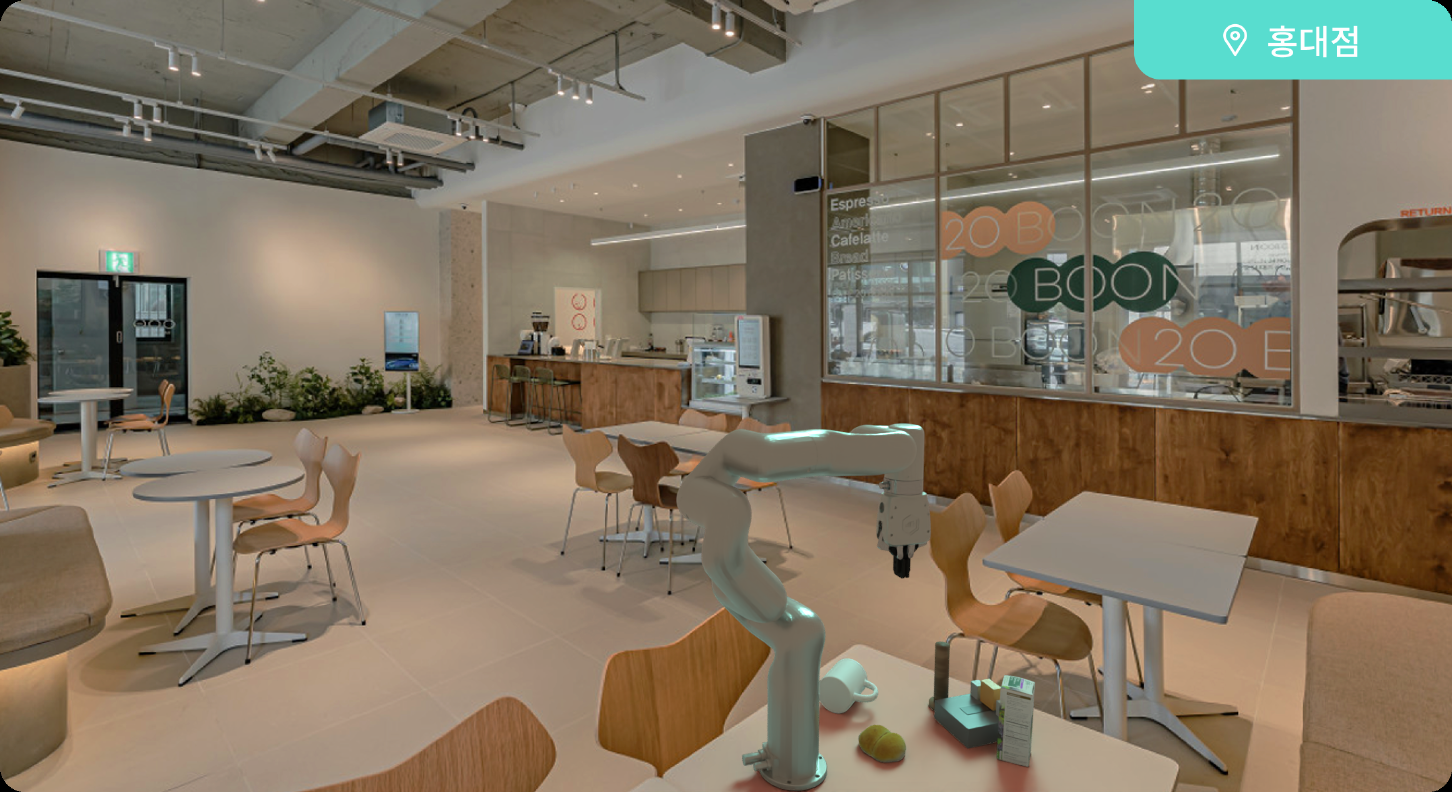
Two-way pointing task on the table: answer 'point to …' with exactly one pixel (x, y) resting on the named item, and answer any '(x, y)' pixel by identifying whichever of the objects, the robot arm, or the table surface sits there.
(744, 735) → the table surface
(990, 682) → the block
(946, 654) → the post
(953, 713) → the switch box
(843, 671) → the mug
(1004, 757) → the syrup box
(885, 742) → the bread roll
